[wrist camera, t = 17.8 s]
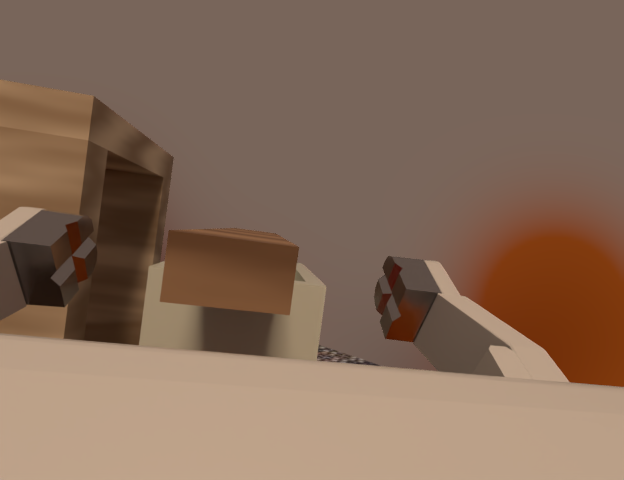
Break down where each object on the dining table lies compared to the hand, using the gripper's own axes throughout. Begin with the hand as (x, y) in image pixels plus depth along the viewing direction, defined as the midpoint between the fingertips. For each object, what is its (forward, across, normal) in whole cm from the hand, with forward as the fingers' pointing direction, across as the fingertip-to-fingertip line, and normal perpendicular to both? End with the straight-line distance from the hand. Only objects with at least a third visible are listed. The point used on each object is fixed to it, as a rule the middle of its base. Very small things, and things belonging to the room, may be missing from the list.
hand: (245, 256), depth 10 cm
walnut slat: (+10, 0, -8) cm, 13 cm away
